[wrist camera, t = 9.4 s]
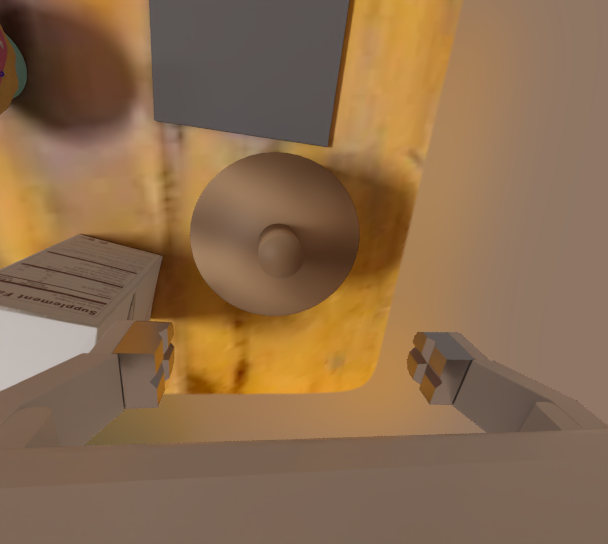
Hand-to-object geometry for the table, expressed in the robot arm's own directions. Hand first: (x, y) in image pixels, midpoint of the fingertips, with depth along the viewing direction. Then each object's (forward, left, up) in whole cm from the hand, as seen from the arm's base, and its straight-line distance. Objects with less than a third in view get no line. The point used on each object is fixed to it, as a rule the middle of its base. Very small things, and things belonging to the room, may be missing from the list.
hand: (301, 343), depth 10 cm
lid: (0, 0, -13) cm, 13 cm away
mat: (-14, -3, -20) cm, 24 cm away
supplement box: (+7, -14, -20) cm, 25 cm away
